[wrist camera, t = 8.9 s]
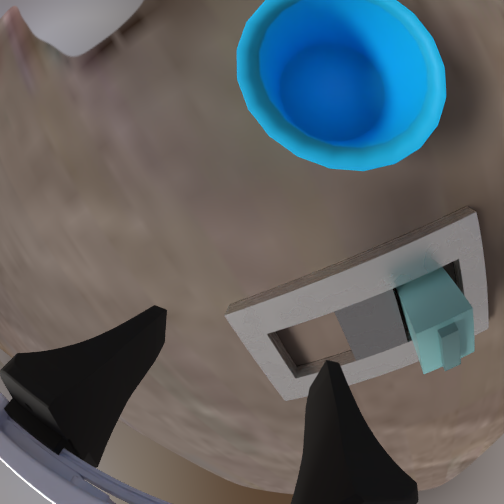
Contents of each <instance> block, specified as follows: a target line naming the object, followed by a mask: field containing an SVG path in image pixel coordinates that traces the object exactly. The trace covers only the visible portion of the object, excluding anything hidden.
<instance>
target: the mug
mask: <svg viewBox="0 0 504 504" xmlns="http://www.w3.org/2000/svg"><path fill="white" fill-rule="evenodd" d="M237 80H238V83H239V86H240V88H241V91H242V94H243V96H244V99H245V102H246V104H247V107H248V110H249V111H250V112H251V113H252V115H253V116H254V117H255V118H256V120H257V121H258V122H259V124H260V125H261V126H262V127H263V129H264V130H265V131H266V133H267V134H268V135H269V136H270V137H271V138H273V139H274V140H275V141H277V142H278V143H280V144H281V145H282V146H284V147H285V148H287V149H288V150H289V151H291V152H292V153H293V154H295V155H296V156H298V157H300V158H303V159H306V160H309V161H311V162H314V163H317V164H320V165H322V166H325V167H327V168H330V169H344V170H357V171H366V170H371V169H375V168H379V167H384V166H388V165H392V164H396V163H397V162H399V161H400V160H402V159H404V158H405V157H407V156H408V155H410V154H412V153H413V152H415V151H416V150H418V149H420V148H421V147H422V145H423V144H424V143H425V141H426V140H427V139H428V138H429V136H430V135H431V134H432V132H433V131H434V130H435V128H436V127H437V126H438V124H439V120H440V117H441V114H442V111H443V107H444V104H445V100H446V79H445V67H444V64H443V61H442V59H441V56H440V54H439V51H438V49H437V46H436V44H435V41H434V39H433V37H432V36H431V35H430V33H429V32H428V31H427V29H426V28H425V27H424V26H423V24H422V23H421V22H420V21H419V19H418V18H417V17H416V16H415V14H414V13H413V12H411V11H410V10H409V9H408V8H406V7H405V6H404V5H402V4H401V3H399V2H398V1H397V0H265V1H264V2H263V4H262V5H261V6H260V7H259V8H258V9H257V10H256V12H255V13H254V14H253V15H252V16H251V17H250V19H249V20H248V21H247V22H246V25H245V28H244V30H243V33H242V36H241V39H240V42H239V44H238V47H237Z"/></svg>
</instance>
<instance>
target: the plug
mask: <svg viewBox="0 0 504 504" xmlns="http://www.w3.org/2000/svg"><path fill="white" fill-rule="evenodd" d="M396 290H397V293H398V297H399V300H400V304H401V307H402V311H403V315H404V318H405V322H406V325H407V327H408V330H409V333H410V336H411V338H412V341H413V344H414V347H415V350H416V352H417V355H418V358H419V361H420V364H421V367H422V371H423V374H426V373H428V372H431V371H433V370H435V369H438V368H440V367H442V366H443V368H444V370H445V371H447V370H449V369H451V368H453V367H455V366H458V365H460V364H461V358H462V357H464V356H466V355H468V354H470V353H472V352H474V318H473V307H472V306H471V304H470V303H469V302H468V300H467V299H466V297H465V296H464V295H463V293H462V292H461V291H460V289H459V288H458V287H457V285H456V284H455V283H454V281H453V280H452V279H451V277H450V276H449V275H448V274H447V272H446V271H445V270H444V268H443V267H440V268H438V269H436V270H434V271H432V272H430V273H427V274H425V275H423V276H421V277H419V278H416V279H414V280H412V281H409V282H407V283H405V284H402V285H400V286H398V287H396Z"/></svg>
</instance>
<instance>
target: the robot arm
mask: <svg viewBox="0 0 504 504" xmlns="http://www.w3.org/2000/svg"><path fill="white" fill-rule="evenodd" d="M166 316H167V310H166V309H163V308H161V307H158V306H155V305H154V306H152V307H151V308H149V309H147V310H145V311H144V312H142V313H140V314H139V315H137V316H135V317H133V318H132V319H130V320H128V321H126V322H125V323H123V324H121V325H119V326H117V327H115V328H113V329H111V330H109V331H107V332H105V333H103V334H101V335H99V336H96V337H94V338H91V339H89V340H86V341H83V342H80V343H77V344H74V345H70V346H66V347H63V348H58V349H53V350H48V351H41V352H31V353H17V354H16V355H15V356H14V357H13V358H12V359H11V360H10V361H9V362H8V363H7V364H6V365H5V366H4V367H3V368H2V369H1V370H0V376H1V379H2V380H3V382H4V384H5V386H6V388H7V389H8V391H9V392H10V394H11V396H12V400H11V401H10V402H9V401H8V400H7V399H6V397H5V396H4V395H3V394H2V393H1V392H0V459H1V460H2V461H3V462H4V463H5V464H6V465H7V466H8V467H9V468H10V469H11V470H12V471H13V472H15V473H16V474H17V475H18V476H19V477H20V478H21V479H23V480H24V481H25V482H26V483H27V484H29V485H30V486H31V487H32V488H33V489H35V490H36V491H37V492H38V493H40V494H41V495H42V496H44V497H45V498H46V499H48V500H49V501H51V502H52V503H53V504H116V503H114V502H113V501H112V500H111V499H110V498H109V496H108V495H107V494H105V493H103V492H102V491H100V490H98V489H97V488H96V487H94V486H93V485H95V486H97V487H98V488H100V489H102V490H104V491H105V492H108V493H110V494H111V495H113V496H115V497H117V498H119V499H121V500H123V501H125V502H127V503H129V504H172V503H169V502H166V501H164V500H161V499H159V498H156V497H154V496H151V495H149V494H147V493H144V492H142V491H140V490H137V489H135V488H133V487H131V486H129V485H127V484H125V483H123V482H121V481H119V480H117V479H115V478H113V477H111V476H109V475H107V474H105V473H103V472H102V471H100V470H98V469H96V467H98V465H99V462H100V460H101V457H102V454H103V452H104V449H105V447H106V445H107V442H108V440H109V438H110V436H111V433H112V431H113V429H114V427H115V425H116V423H117V421H118V419H119V417H120V415H121V413H122V411H123V409H124V407H125V405H126V403H127V401H128V399H129V398H130V396H131V395H132V393H133V392H134V390H135V389H136V387H137V386H138V385H139V383H140V382H141V380H142V379H143V377H144V376H145V375H146V373H147V372H148V370H149V369H150V367H151V366H152V365H153V363H154V362H155V360H156V358H157V356H158V355H159V353H160V351H161V349H162V347H163V345H164V343H165V330H166ZM85 480H86V481H85ZM87 481H88V482H90V483H91V484H93V485H91V484H90V483H88V482H87ZM417 502H418V489H417V483H416V482H415V481H414V480H413V479H412V478H411V477H410V476H409V475H407V474H406V473H405V472H404V471H403V470H402V469H401V468H400V467H399V466H398V465H397V464H396V463H395V462H394V461H393V460H392V458H391V457H390V456H389V455H388V454H387V452H386V451H385V450H384V449H383V447H382V446H381V445H380V443H379V442H378V440H377V439H376V438H375V436H374V435H373V433H372V431H371V430H370V428H369V427H368V425H367V423H366V422H365V420H364V418H363V416H362V414H361V412H360V410H359V408H358V406H357V404H356V402H355V399H354V397H353V395H352V393H351V390H350V388H349V386H348V383H347V381H346V378H345V376H344V373H343V371H342V368H341V366H340V364H339V363H338V362H334V361H330V360H326V361H325V363H324V364H323V366H322V368H321V370H320V371H319V373H318V375H317V376H316V378H315V380H314V381H313V383H312V384H311V386H310V388H309V393H308V398H307V404H306V413H305V430H304V446H303V455H302V461H301V466H300V471H299V475H298V479H297V483H296V487H295V491H294V495H293V498H292V502H291V504H416V503H417Z"/></svg>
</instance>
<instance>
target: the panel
mask: <svg viewBox="0 0 504 504" xmlns="http://www.w3.org/2000/svg"><path fill="white" fill-rule="evenodd" d="M451 262H453V263H454V269H455V275H456V281H457V287H458V288H459V289H460V291H461V292H462V293H463V295H464V296H465V297H466V299H467V300H468V302H469V303H470V304H471V306H472V307H473V318H474V336H475V335H477V334H479V333H480V332H482V331H484V330H486V329H488V294H487V281H486V270H485V261H484V253H483V246H482V240H481V234H480V228H479V223H478V218H477V213H476V211H474V210H472V209H471V208H469V207H468V206H466V207H464V208H462V209H460V210H458V211H455V212H453V213H451V214H449V215H447V216H445V217H443V218H440V219H438V220H436V221H434V222H432V223H430V224H427V225H425V226H423V227H421V228H419V229H416V230H414V231H412V232H410V233H407V234H405V235H403V236H401V237H398V238H396V239H394V240H392V241H389V242H387V243H385V244H382V245H380V246H378V247H375V248H373V249H371V250H368V251H366V252H364V253H361V254H359V255H356V256H354V257H352V258H349V259H347V260H344V261H342V262H339V263H337V264H335V265H332V266H330V267H327V268H325V269H322V270H320V271H317V272H315V273H312V274H310V275H307V276H305V277H302V278H300V279H297V280H294V281H292V282H289V283H287V284H284V285H281V286H279V287H276V288H274V289H271V290H268V291H266V292H263V293H260V294H258V295H255V296H252V297H250V298H247V299H244V300H241V301H239V302H236V303H233V304H230V305H229V307H228V309H227V311H226V313H225V315H224V316H225V317H226V319H227V320H228V322H229V323H230V325H231V326H232V328H233V329H234V331H235V332H236V333H237V335H238V336H239V338H240V339H241V341H242V342H243V344H244V345H245V346H246V348H247V349H248V351H249V352H250V354H251V355H252V356H253V358H254V359H255V361H256V362H257V363H258V365H259V366H260V368H261V369H262V370H263V372H264V373H265V375H266V376H267V377H268V379H269V380H270V381H271V383H272V384H273V386H274V387H275V388H276V390H277V391H278V392H279V394H280V395H281V396H282V398H283V399H284V400H285V401H288V400H292V399H297V398H301V397H306V396H308V393H309V388H310V386H311V384H312V383H313V381H314V380H315V378H316V376H317V375H318V373H319V371H320V370H321V368H322V366H323V364H324V363H325V361H326V360H330V361H334V362H338V363H339V364H340V366H341V368H342V371H343V373H344V376H345V378H346V381H347V383H348V385H351V384H355V383H358V382H361V381H365V380H368V379H371V378H374V377H377V376H380V375H383V374H386V373H388V372H391V371H394V370H397V369H400V368H402V367H405V366H407V365H410V364H413V363H415V362H418V361H419V358H418V355H417V352H416V350H415V347H414V344H413V341H412V338H411V336H410V333H409V330H408V329H407V330H404V326H403V322H402V319H401V315H400V312H399V308H398V305H397V301H396V298H395V295H394V292H393V288H395V287H398V286H400V285H402V284H405V283H407V282H409V281H412V280H414V279H416V278H419V277H421V276H423V275H425V274H427V273H430V272H432V271H434V270H436V269H438V268H440V267H443V266H445V265H447V264H449V263H451ZM331 312H335V314H336V316H337V319H338V321H339V323H340V325H341V327H342V330H343V332H344V334H345V336H346V339H347V341H348V343H349V345H350V348H351V351H348V352H344V353H341V354H338V355H335V356H332V357H329V358H325V359H322V360H319V361H315V362H312V363H308V364H305V365H301V366H296V365H295V363H294V361H293V360H292V358H291V357H290V355H289V353H288V352H287V350H286V349H285V347H284V345H283V344H282V342H281V340H280V339H279V337H278V336H277V334H276V332H275V331H278V330H281V329H284V328H287V327H290V326H294V325H297V324H300V323H303V322H306V321H308V320H311V319H314V318H317V317H320V316H323V315H326V314H328V313H331Z"/></svg>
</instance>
